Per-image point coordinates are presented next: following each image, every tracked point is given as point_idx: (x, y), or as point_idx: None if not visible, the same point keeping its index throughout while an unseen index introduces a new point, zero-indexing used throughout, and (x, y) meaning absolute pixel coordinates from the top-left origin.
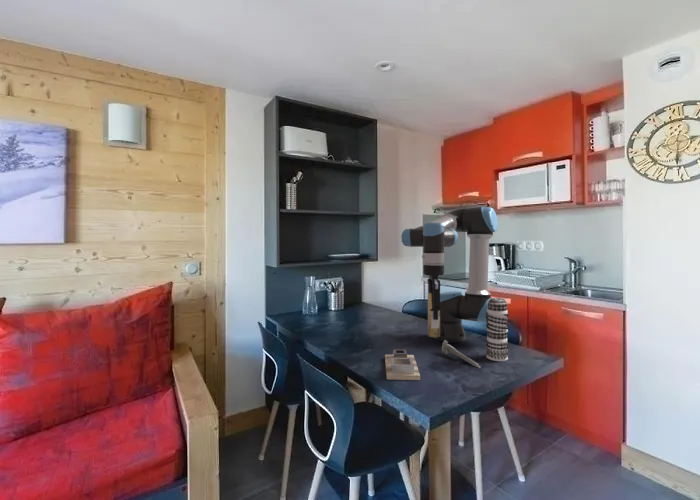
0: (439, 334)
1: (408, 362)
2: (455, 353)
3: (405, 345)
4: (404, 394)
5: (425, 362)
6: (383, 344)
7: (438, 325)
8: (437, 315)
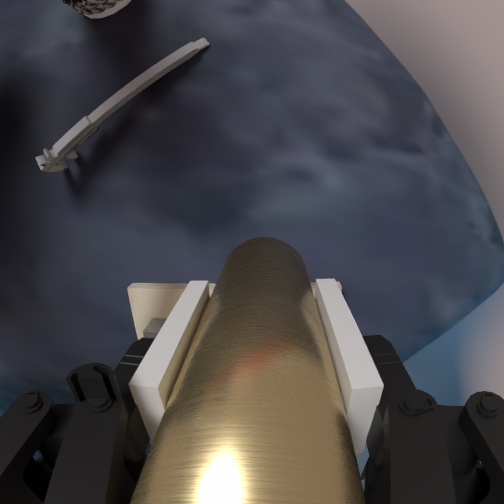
0: (289, 249)
1: None
2: (103, 119)
3: (31, 292)
4: (424, 328)
5: (165, 243)
6: (46, 354)
7: (339, 294)
8: (401, 367)
